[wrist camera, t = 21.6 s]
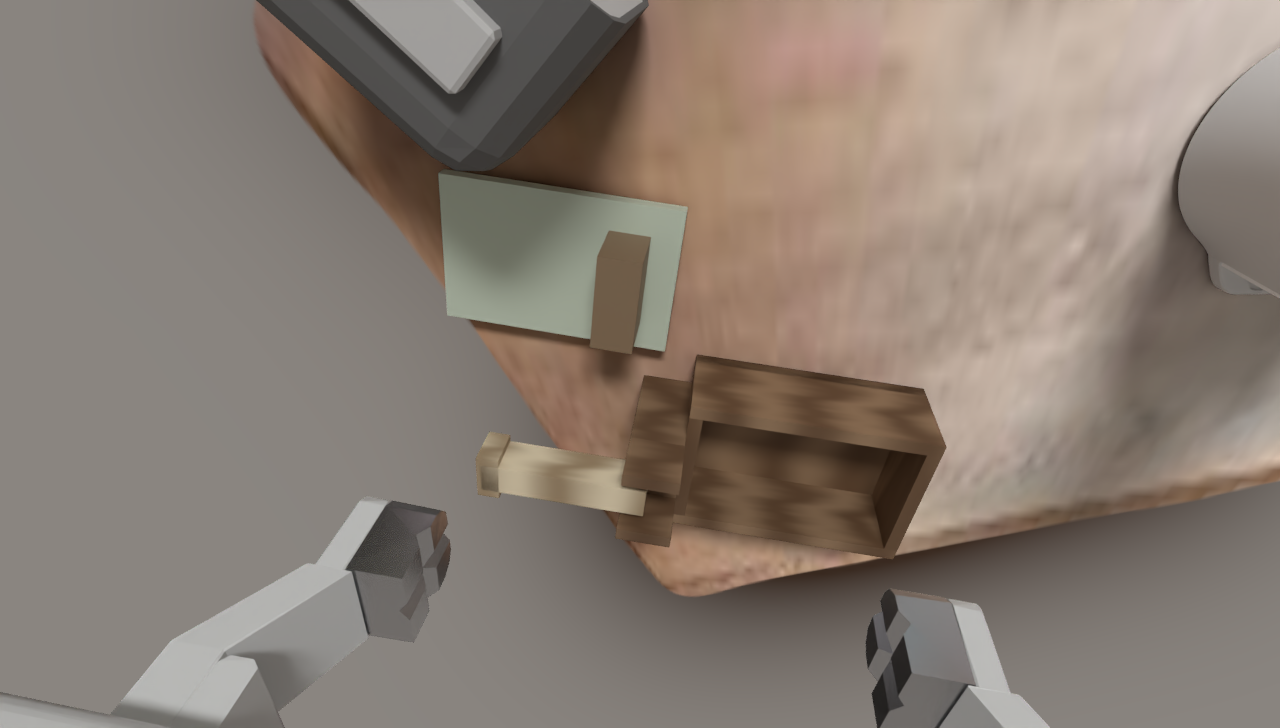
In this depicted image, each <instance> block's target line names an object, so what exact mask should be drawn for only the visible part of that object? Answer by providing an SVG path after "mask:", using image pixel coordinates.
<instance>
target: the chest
mask: <svg viewBox="0 0 1280 728" xmlns="http://www.w3.org/2000/svg"><path fill="white" fill-rule="evenodd" d="M945 449H946V445H945V442H944V440H943V437H942V434H941V432H940V429H939V427H938V424H937V422H936V419H935V417H934V414H933V412H932V409H931V407H930V404H929V402H928V399H927V396H926V394H925V391H924V389H920V388H913V387H907V386H900V385H894V384H887V383H880V382H874V381H867V380H861V379H854V378H848V377H841V376H834V375H828V374H821V373H815V372H808V371H801V370H795V369H788V368H782V367H775V366H769V365H762V364H755V363H749V362H742V361H736V360H729V359H722V358H716V357H709V356H703V355H697V357H696V363H695V369H694V375H693V381H692V383H691V382H684V381H678V380H671V379H665V378H658V377H652V376H645V375H644V379H643V384H642V388H641V393H640V397H639V402H638V406H637V411H636V415H635V420H634V424H633V429H632V433H631V438H630V442H629V447H628V451H627V456H626V460H625V465H624V469H623V474H622V481H621V486H626V487H632V488H639V489H645V490H647V495H646V501H645V507H644V513H643V516H638V515H632V514H626V513H620V514H619V519H618V524H617V528H616V537H615V538H616V539H622V540H628V541H634V542H640V543H646V544H652V545H658V546H664V547H669V546H670V540H671V533H672V525H673V523H678V524H684V525H690V526H696V527H702V528H708V529H714V530H720V531H726V532H732V533H738V534H744V535H750V536H756V537H762V538H768V539H774V540H780V541H786V542H792V543H798V544H804V545H810V546H816V547H822V548H828V549H834V550H840V551H846V552H852V553H858V554H864V555H870V556H876V557H882V558H888V559H893V557H894V556H895V554H896V552H897V550H898V547H899V545H900V543H901V541H902V539H903V537H904V535H905V533H906V531H907V529H908V527H909V524H910V522H911V520H912V518H913V516H914V514H915V512H916V510H917V508H918V506H919V504H920V502H921V499H922V497H923V495H924V493H925V491H926V489H927V487H928V485H929V483H930V481H931V479H932V477H933V474H934V472H935V470H936V468H937V466H938V464H939V462H940V460H941V458H942V456H943V454H944V452H945Z"/></svg>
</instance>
